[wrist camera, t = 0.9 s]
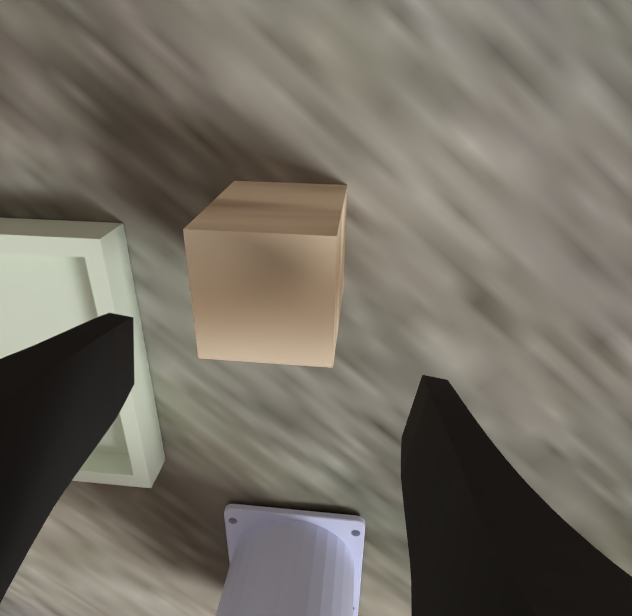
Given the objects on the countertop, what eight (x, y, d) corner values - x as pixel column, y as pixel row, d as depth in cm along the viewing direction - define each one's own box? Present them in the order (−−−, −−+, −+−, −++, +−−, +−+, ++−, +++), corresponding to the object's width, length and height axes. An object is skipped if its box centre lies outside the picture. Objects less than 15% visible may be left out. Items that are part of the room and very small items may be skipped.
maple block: (343, 288, 21) (332, 367, 16) (241, 283, 22) (198, 358, 17) (347, 184, 19) (336, 236, 14) (234, 180, 20) (183, 229, 14)
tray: (165, 459, 27) (151, 488, 26) (-62, 439, 29) (-91, 465, 27) (123, 223, 21) (99, 239, 19) (-168, 210, 22) (-214, 224, 20)
